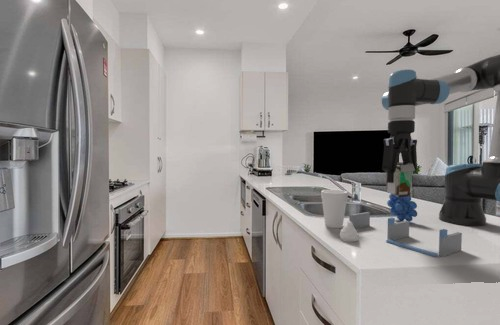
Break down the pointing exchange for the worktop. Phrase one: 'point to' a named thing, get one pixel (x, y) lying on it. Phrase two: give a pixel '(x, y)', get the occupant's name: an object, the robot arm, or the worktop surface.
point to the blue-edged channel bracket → (401, 230)
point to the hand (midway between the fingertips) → (399, 192)
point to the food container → (403, 179)
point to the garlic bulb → (349, 232)
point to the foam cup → (334, 207)
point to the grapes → (402, 207)
